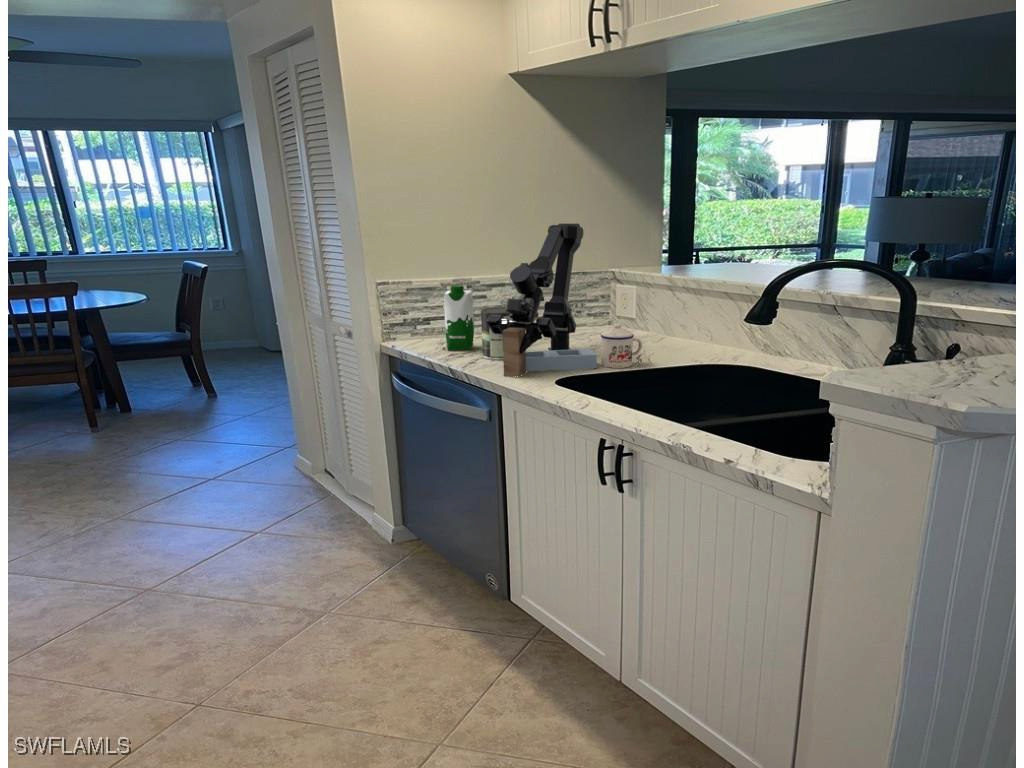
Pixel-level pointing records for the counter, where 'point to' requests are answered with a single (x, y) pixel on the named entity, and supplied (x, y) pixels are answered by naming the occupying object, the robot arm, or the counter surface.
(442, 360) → the counter surface
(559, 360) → the blue peg holder
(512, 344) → the peg
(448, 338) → the milk carton
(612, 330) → the teacup with lid
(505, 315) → the coffee can
